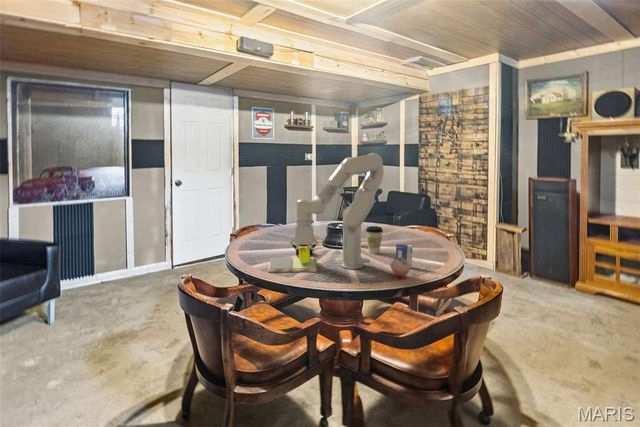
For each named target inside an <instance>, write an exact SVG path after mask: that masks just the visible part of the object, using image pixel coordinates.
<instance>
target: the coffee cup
mask: <svg viewBox="0 0 640 427" xmlns="http://www.w3.org/2000/svg"><path fill="white" fill-rule="evenodd" d="M365 232H366V240H367V250H368V254H371V255H378V254H379V253H380V248H381V242H382V233H383V232H384V230H383V228H382V227H381V226H375V225H374V226H372V225H371V226H367V227H366V229H365Z"/></svg>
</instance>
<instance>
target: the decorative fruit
mask: <svg viewBox="0 0 640 427" xmlns="http://www.w3.org/2000/svg"><path fill="white" fill-rule="evenodd" d="M390 268H391V271H392V272H393V273H394V274H395V276H397V277H399V278H401V277H402V278H403V277H404V276H406V275H408V274H409V272H410V270H411V268H410V264H409V262H408V261H407V260H405V259H401V257H400V258H396V257H395V258H394V260H392V261H391V263H390Z"/></svg>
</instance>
